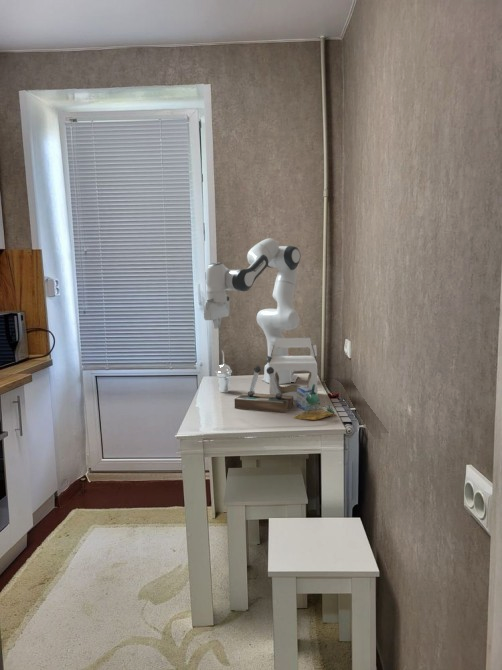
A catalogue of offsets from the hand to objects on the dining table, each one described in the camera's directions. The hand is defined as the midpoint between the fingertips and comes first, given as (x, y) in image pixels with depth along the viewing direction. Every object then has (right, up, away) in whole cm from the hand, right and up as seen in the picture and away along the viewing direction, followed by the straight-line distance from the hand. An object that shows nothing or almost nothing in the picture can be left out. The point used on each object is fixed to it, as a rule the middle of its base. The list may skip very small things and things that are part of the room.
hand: (217, 328), depth 223 cm
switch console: (+22, -35, -13) cm, 43 cm away
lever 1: (+15, -30, -11) cm, 36 cm away
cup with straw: (+2, -31, +16) cm, 36 cm away
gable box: (+36, -33, +3) cm, 48 cm away
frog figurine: (+42, -37, -30) cm, 63 cm away
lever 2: (+28, -31, -16) cm, 45 cm away
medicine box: (+39, -35, -16) cm, 55 cm away
